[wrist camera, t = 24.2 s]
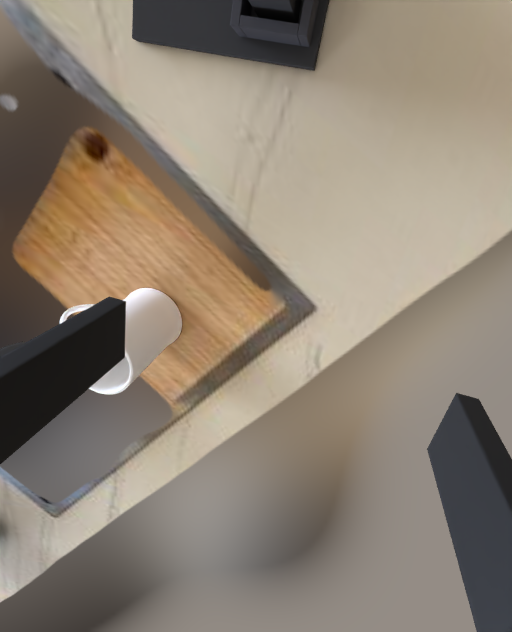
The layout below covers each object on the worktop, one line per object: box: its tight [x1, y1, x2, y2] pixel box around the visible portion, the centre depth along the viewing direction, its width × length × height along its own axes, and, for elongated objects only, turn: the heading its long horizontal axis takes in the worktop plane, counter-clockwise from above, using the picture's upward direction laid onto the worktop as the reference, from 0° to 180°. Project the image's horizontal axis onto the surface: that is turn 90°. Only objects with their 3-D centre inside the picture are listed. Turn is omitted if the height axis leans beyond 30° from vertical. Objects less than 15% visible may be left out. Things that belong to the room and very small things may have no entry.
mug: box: [60, 288, 182, 394], centre depth 42 cm, size 12×8×12 cm
